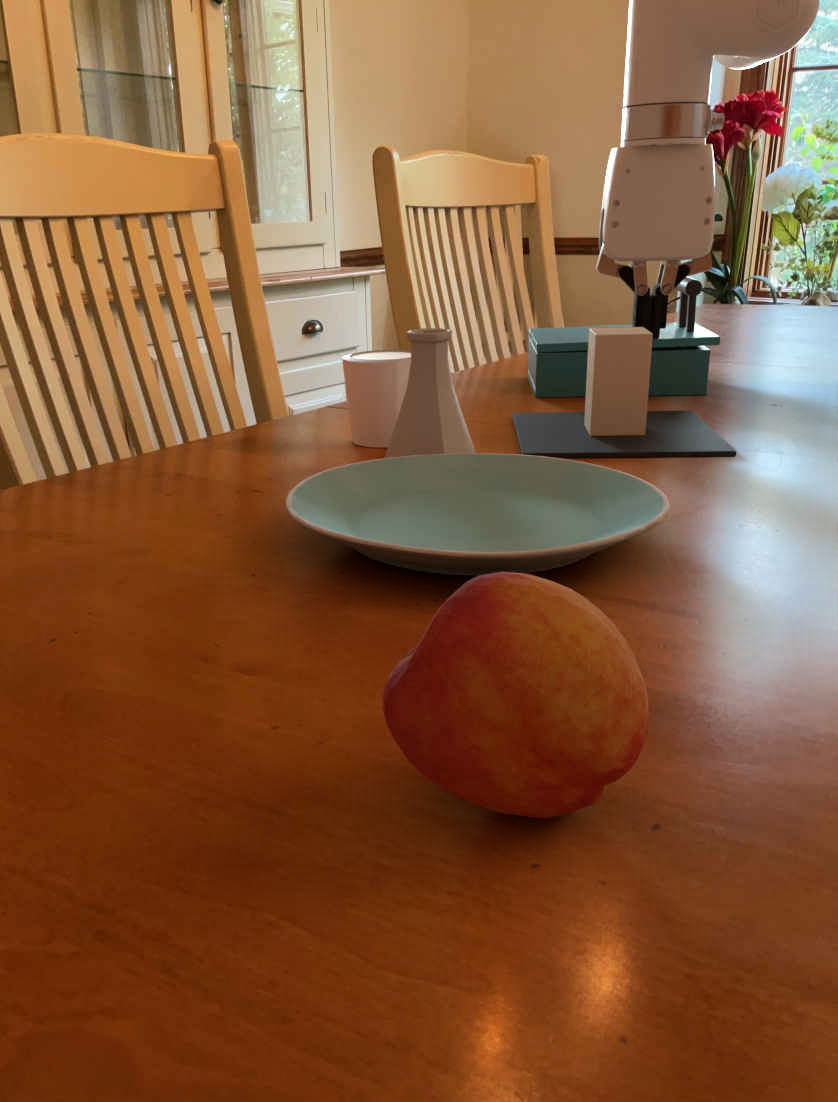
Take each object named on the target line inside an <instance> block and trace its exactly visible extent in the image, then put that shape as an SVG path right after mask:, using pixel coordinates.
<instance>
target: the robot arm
mask: <svg viewBox="0 0 838 1102" xmlns="http://www.w3.org/2000/svg"><path fill="white" fill-rule="evenodd" d="M820 1H821V0H629V1H628V18H627V33H626V34H627V35H626V51H625V64H624V66H625V67H624V83H623V100H622V115H621V132H620V133H621V135H620V146H618V147H612V148H611V150H610V154H609V157H608V161H607V168H606V172H605V177H604V185H603V192H602V201H601V209H600V220H599V230H598V231H599V232H598V250H599V255H598V258H597V261H596V265H595V270H596V272H597V273H598V274H602V275H606V276H609V277H615V278H619V279H621V281H622V282H623V283H624V284H625V285H626V286H627V287H628V288H629V290H631V292H632V293H633V308H632V309H633V310H632V323H631V324H632V327H644V328H645V329H647V330H648V331H649V332H651V333H652V334H653V336H652V338H659V335H660V329H663V328H665V327H666V323H667V319H668V306H669V295H671V294H672V293H673V291H674V290H675V289H676V286H677V285H678V284H680V283H681V282H682V281H683V280H684V279H685V278H686V277H687V276H688V277H691V276H694V275H697V274H701V273H702V274H703V273H705V272H708V271H710V270H711V269H712V267H713V261H712V253H711V251H712V247H713V242H714V235H715V234H714V233H715V218H716V217H715V216H716V215H715V214H716V173H715V157H714V148H713V144H712V143H706V142H707V141H706V140H707V137H709V134H710V133H711V132H714V131H715V130H723V128H724V123H725V113H724V112H716V111H713V109H711V107H712V105H711V104H710V97H711V96H710V95H711V87H712V74H713V63H714V60H715V61H716V62H717V63H718V64H720V65H722V66H723V67H726V68H728V69H732V70H746V69H751V68H755V67H757V66H759V65H762V64H763V63H766V62H769V61H772V60H773V59H776V58H778V57H780V56H782V55H784V54H786V53H788V52H789V51H791V50H792V49H793V48H795V47H796V46H797V45H798V44H799V43H800V42H802V40H803V39H804V38H805V37H806V36H807V34H808V33H809V32H810V30H811V28H812V27H813V25H814V23H815V21H816V18H817V17H818V12H819V8H820ZM616 261H617V262H616ZM680 261H685V262H681V263H680ZM619 262H628V265H627V264H622V263H619ZM647 262H660V265H659V269H658V273H657V277H656V282H655V285H654V286H653V288H652V292H651V288H650V287H649V284H648V268H647Z"/></svg>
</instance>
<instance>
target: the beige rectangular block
mask: <svg viewBox="0 0 838 1102" xmlns="http://www.w3.org/2000/svg"><path fill="white" fill-rule="evenodd" d="M652 336H653V334H652V333H651V332H649V331H648V330H647V329H645V328H644V327H618V328H589V341H588V360H587V380H586V397H585V398H584V399H585V400H584V401H585V402H584V404H585V405H584V412H585V418H584V425H585V427H586V429H587V431H588V433H589V434H590V436H630V435H645V429H646V416H647V411H648V402H649V401H648V400H649V396H648V389H649V376H650V363H651V349H652Z"/></svg>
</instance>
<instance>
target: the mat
mask: <svg viewBox="0 0 838 1102" xmlns="http://www.w3.org/2000/svg"><path fill="white" fill-rule="evenodd" d="M584 418H585V411H561V412H560V411H556V412H555V411H554V412H548V411H547V412H546V411H545V412H512V420H513V424H514V429H515V433H516V437H517V441H518V442H517V443H518V446H519V449H520V455H534V456H545V457H553V458H561V459H575V458H576V459H577V458H578V459H579V458H582V459H587V458H590V459H592V458H673V457H674V458H675V457H676V458H677V457H678V458H679V457H680V458H683V457H685V458H687V457H693V458H694V457H736V456H737V450H736V449H735V448H734V447H733V446H732V445H731V444H730V443H729V442H728V441H726V440H725V439H724V438H723V437H722V436H721V435H719V434H718V432H717V431H715V430H714V429H713V428H712V426H711V425H709V424H708V423H707V422H706V421H705V420H703V418H702V417H700V416H699V414H697V413H696V412H695V411H694V410H691V409H690V410H647V416H646V429H645V435H630V436H590V434H589V433H588V431H587V429H586V427H585V425H584Z"/></svg>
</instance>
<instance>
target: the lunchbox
mask: <svg viewBox="0 0 838 1102" xmlns="http://www.w3.org/2000/svg"><path fill="white" fill-rule="evenodd" d="M527 342H528V343H527V345H528V346H527V352H528V353H527V374H526V375H527V376H526V377H527V379H528V382H529V384H530V388H531V390H532V393H533V395H534V397H535V398H586V380H587V360H588V350H587V351H563V352H538V353H537V352H536V350H535V348H534V346H533V344H532V341H531V339H530V337H529V336H528V341H527ZM710 359H711V349H710V348H708V347H707V346H684V347H659V348H652V349H651V363H650V376H649V389H648V397H649V396H650V397H651V396H652V397H653V396H654V397H657V396H661V397H662V396H706V395H707V392H708V380H709V371H710Z"/></svg>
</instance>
